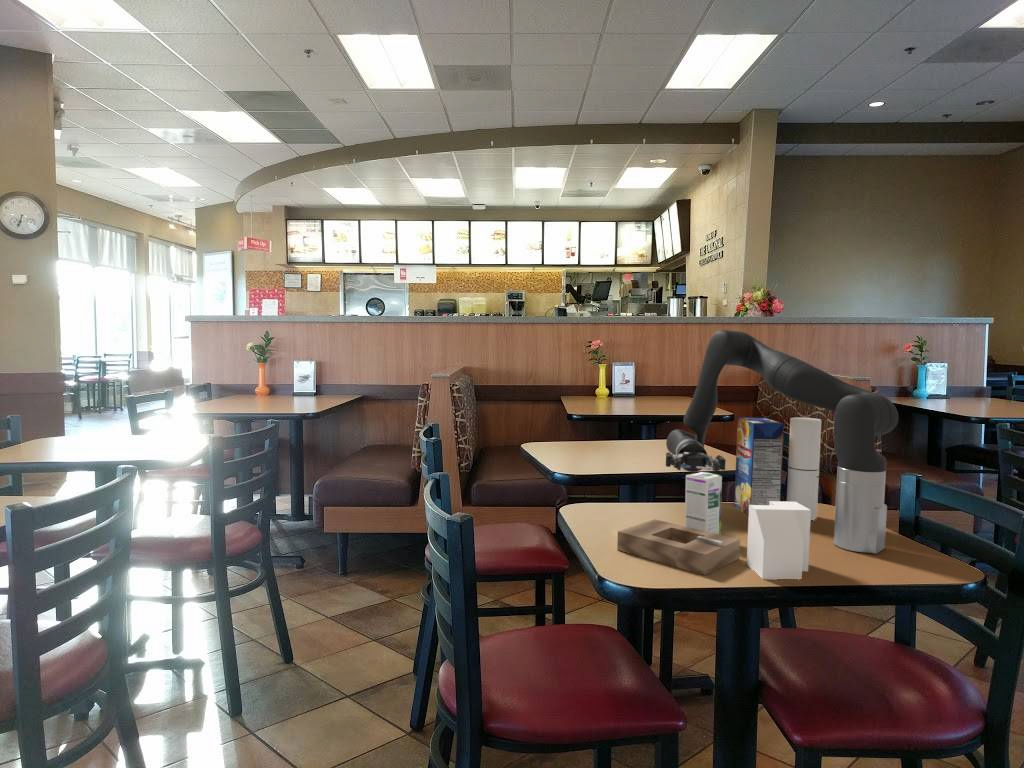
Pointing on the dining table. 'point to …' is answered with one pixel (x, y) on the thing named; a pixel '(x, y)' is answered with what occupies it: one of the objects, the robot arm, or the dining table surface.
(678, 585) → the dining table surface
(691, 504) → the syrup box
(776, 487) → the juice carton
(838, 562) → the dining table surface
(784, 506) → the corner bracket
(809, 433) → the cylindrical container
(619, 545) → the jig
